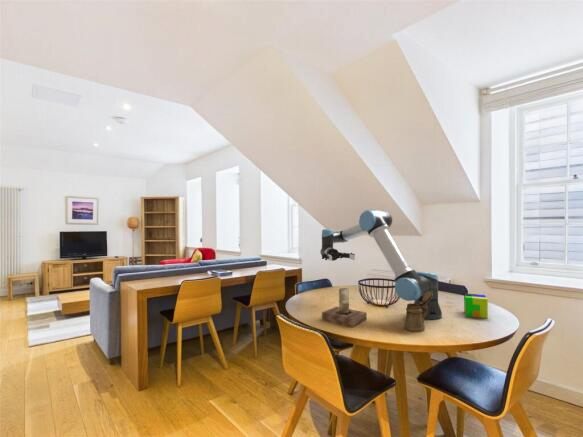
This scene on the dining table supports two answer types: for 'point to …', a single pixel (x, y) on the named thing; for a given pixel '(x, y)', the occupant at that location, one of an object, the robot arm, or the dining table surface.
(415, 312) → the wooden mug
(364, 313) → the walnut board
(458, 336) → the dining table surface
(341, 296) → the birch peg
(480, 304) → the puzzle toy
